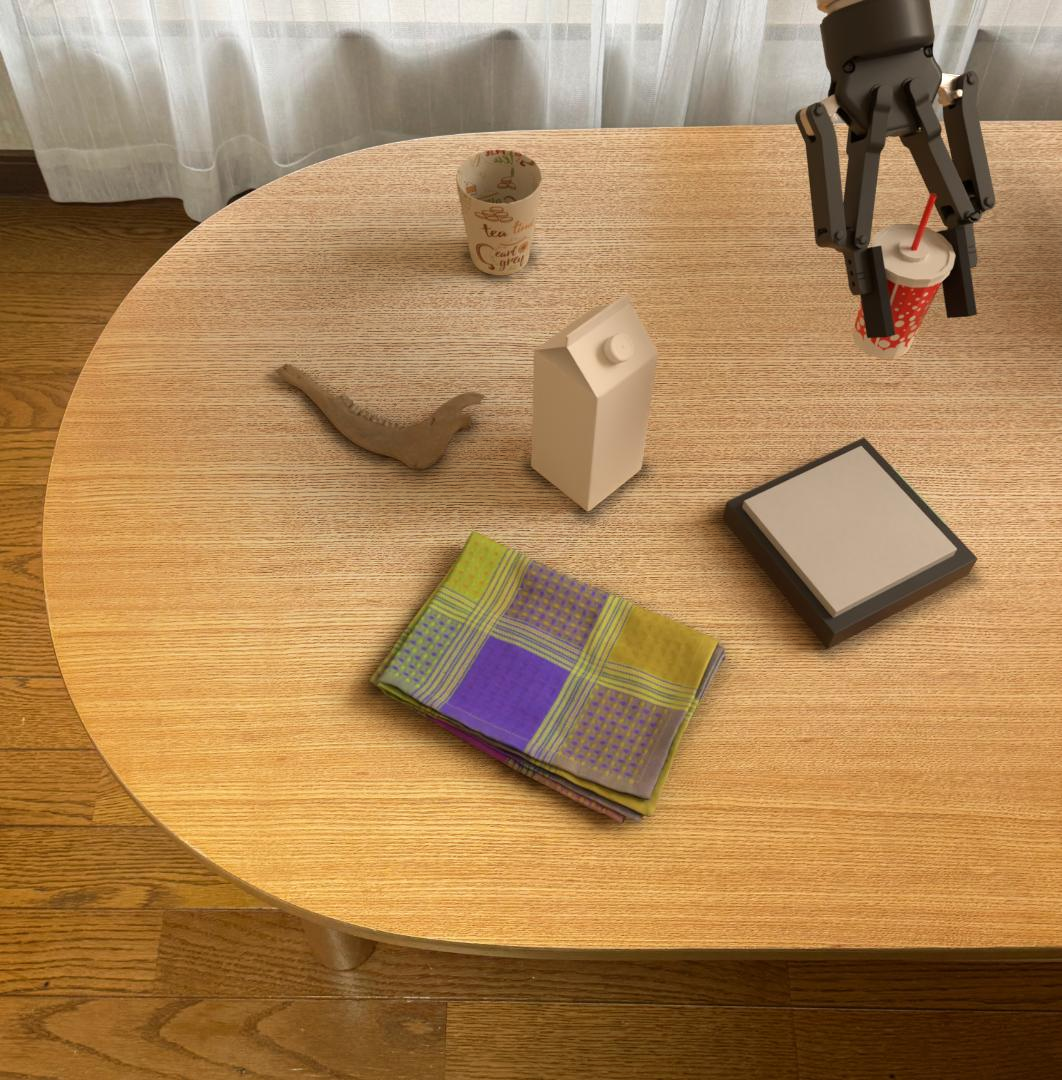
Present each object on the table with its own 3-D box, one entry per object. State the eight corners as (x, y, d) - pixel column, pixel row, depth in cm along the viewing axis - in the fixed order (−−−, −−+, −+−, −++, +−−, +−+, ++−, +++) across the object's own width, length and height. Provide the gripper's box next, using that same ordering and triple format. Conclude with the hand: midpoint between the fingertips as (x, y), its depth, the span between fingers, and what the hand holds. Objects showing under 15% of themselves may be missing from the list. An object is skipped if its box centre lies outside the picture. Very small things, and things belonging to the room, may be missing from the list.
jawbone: (463, 484, 105) (461, 471, 103) (246, 446, 107) (241, 432, 105) (487, 404, 109) (485, 391, 107) (278, 369, 112) (274, 356, 110)
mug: (450, 276, 119) (445, 196, 111) (482, 198, 127) (480, 118, 118) (529, 290, 118) (530, 210, 110) (557, 211, 126) (560, 131, 117)
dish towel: (477, 535, 101) (476, 516, 99) (737, 657, 94) (743, 640, 92) (363, 692, 92) (359, 676, 90) (642, 840, 85) (645, 825, 83)
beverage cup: (931, 329, 94) (990, 186, 82) (904, 377, 91) (961, 235, 79) (859, 301, 96) (907, 156, 84) (830, 347, 93) (876, 204, 81)
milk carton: (530, 468, 105) (533, 312, 90) (585, 426, 108) (597, 269, 93) (587, 514, 102) (601, 361, 87) (642, 470, 105) (665, 314, 90)
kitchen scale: (858, 454, 107) (867, 429, 104) (969, 574, 99) (983, 551, 96) (721, 518, 102) (727, 494, 99) (827, 649, 95) (837, 627, 92)
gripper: (959, -5, 88) (1001, 301, 93) (727, 39, 85) (783, 355, 89) (1023, -37, 81) (1065, 296, 86) (772, 9, 77) (831, 354, 82)
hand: (921, 325), depth 87 cm, fingers closed on beverage cup, 6 cm apart
